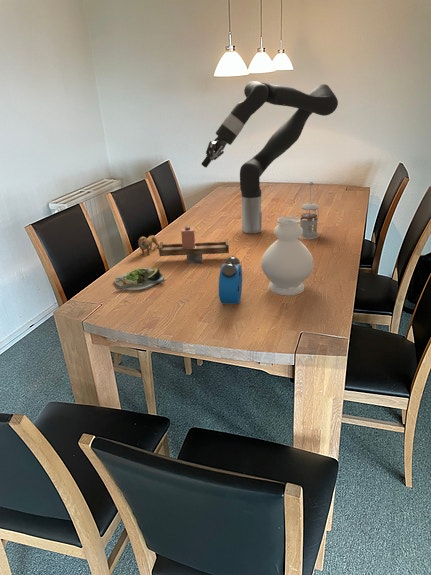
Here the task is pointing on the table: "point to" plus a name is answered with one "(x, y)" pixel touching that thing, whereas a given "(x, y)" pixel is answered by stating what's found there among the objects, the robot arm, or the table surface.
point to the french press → (309, 220)
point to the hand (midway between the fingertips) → (203, 166)
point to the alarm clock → (230, 281)
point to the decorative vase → (287, 259)
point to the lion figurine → (147, 243)
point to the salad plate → (139, 279)
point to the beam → (194, 250)
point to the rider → (188, 237)
